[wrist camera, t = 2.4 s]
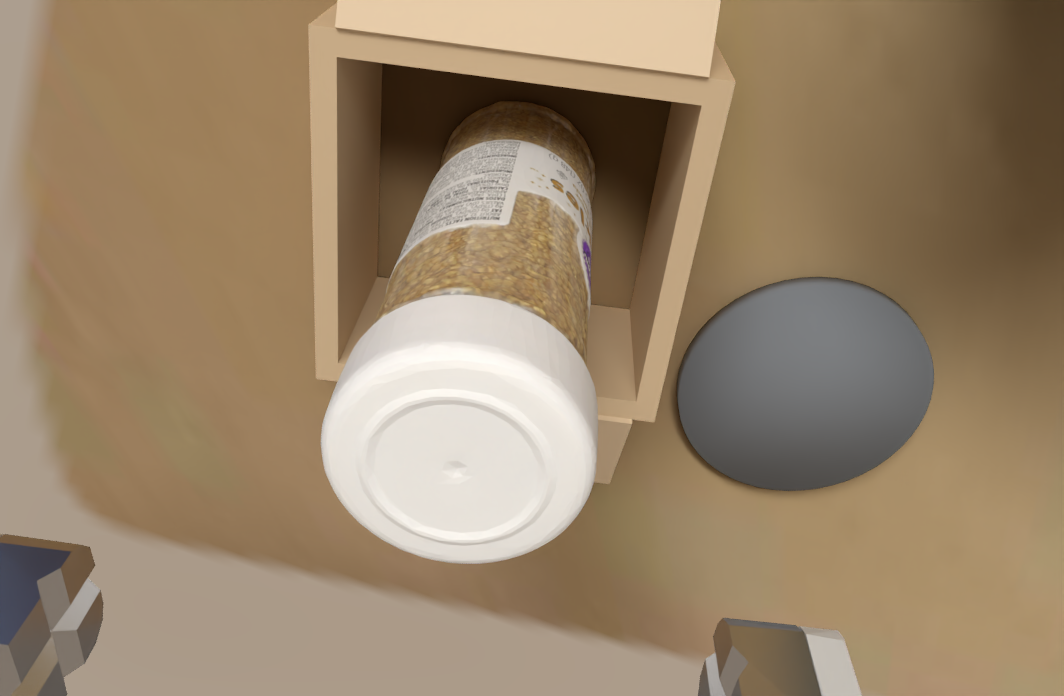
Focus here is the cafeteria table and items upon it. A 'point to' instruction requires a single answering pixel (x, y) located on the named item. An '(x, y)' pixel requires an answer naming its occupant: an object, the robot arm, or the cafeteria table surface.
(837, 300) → the coaster
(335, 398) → the sprinkles bottle
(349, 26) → the carton
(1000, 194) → the cafeteria table surface
